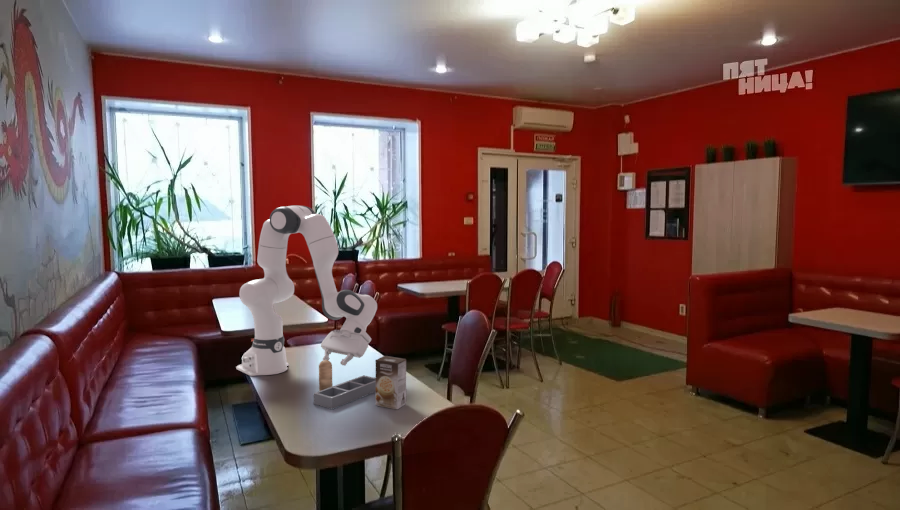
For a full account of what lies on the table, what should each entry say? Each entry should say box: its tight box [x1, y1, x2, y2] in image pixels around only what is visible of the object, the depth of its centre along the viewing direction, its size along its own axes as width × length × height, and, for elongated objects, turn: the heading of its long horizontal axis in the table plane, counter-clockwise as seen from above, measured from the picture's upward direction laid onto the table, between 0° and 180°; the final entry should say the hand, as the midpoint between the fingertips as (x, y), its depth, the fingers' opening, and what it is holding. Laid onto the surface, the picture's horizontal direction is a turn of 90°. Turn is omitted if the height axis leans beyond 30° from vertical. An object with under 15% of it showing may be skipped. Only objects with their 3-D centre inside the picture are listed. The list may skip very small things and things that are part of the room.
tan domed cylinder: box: [318, 359, 333, 391], centre depth 199 cm, size 5×5×11 cm
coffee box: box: [375, 355, 407, 410], centre depth 184 cm, size 9×6×16 cm
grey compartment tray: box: [313, 375, 376, 410], centre depth 193 cm, size 9×25×4 cm, turn 146°
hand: (333, 362), depth 202 cm, fingers open, 8 cm apart
